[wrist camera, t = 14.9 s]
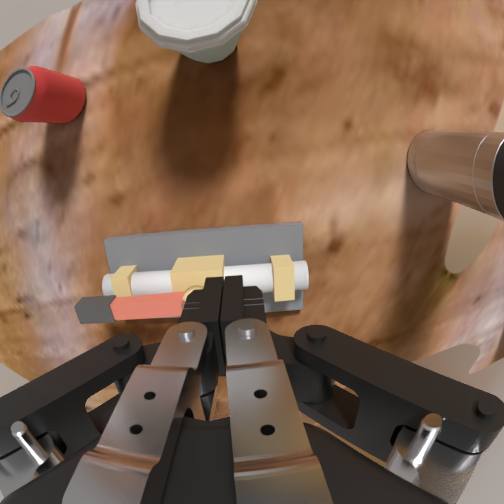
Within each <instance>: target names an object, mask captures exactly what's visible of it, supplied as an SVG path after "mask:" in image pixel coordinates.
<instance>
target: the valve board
mask: <svg viewBox="0 0 504 504" xmlns="http://www.w3.org/2000/svg"><path fill="white" fill-rule="evenodd" d="M104 244H105V249H106V254H107V259H108V263H109V268H110V272H111V274H106V275H105V276H104V278H103V282H102V290H103V294H104V296H109V295H116V297H125V296H137V295H149V294H161V293H172V292H182V291H186V290H187V289H188V288H189V287H191V286H194V285H199V286H203V287H204V283H205V279H206V277H221V276H224V279H225V276H235V275H243V286H257V287H258V288H259V289H260V290H262V294H263V301H264V308H265V313H266V312H278V311H290V310H301V309H303V290H304V289H308V285H309V275H308V267H307V263H306V261H303V224H302V223H301V222H288V223H272V224H257V225H243V226H230V227H216V228H204V229H191V230H180V231H168V232H157V233H146V234H135V235H125V236H115V237H108V238H106V239H105V240H104ZM180 317H181V316H175V317H161V318H180Z"/></svg>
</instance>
